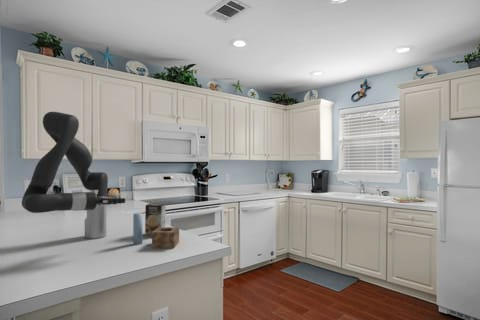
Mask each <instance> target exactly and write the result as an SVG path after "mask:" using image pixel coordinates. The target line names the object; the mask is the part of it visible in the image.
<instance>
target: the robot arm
mask: <svg viewBox="0 0 480 320" xmlns="http://www.w3.org/2000/svg"><path fill="white" fill-rule="evenodd" d="M42 126H43V129H44V130H45V132H46V134H47V135H49V137H50V138H51V139H52V140H53V141H54V142H55V145H54V146H53V147H52V148H51V149H50V150H49V151H48V152H47V153H45V155H43V156H42V157H41V158H40V159H39V161H38V162H37V164H36V165H35V168H34V171H33V173H32V177H31V180H30V182H29V184H28V186H27V188H26V190H25V192H24V194H23V196H22V199H21V206H22V207H23V209H24V210H26V211H27V212H29V213H34V214H39V213H42V214H43V213H48V212H55V211H58V212H60V211H62V212H63V211H77V212H78V211H86V218H85V219H84V238H85V239H91V240H92V239H100V238H104V237H106V236H107V206H111V205H117V204H125V203H126V198H125V197H121V198H120V197H119V198H118V197H112V196H108V187H109V186H108V183H109V177H108V174H107V173H106V172H103V171H102V172H100V171H96V172H95V171H92V172H91V171H90V170H89V169H90V166H91V165H92V163H93V157H92V154H91V152H90V151H89V149H88V147H86V145H85V144H84V143H82V141H81V140H78V139H77V138H76V135H77V133H78V130H79V127H80V122H79V119H78V117H77V116H75V115H73V114H69V113H64V112H58V111H49V112H46V113H45V114H44V115H43V117H42ZM64 156H65V157H64ZM63 158H66V159H67V160H68V162H69V164H71V166H72V167H73V169H74V170H75V172H76V174H77V175H78V177H79V180H80V181H81V183H82V186H83V188H85V189H86V190H89V191H86V192H85V191H83V192H82V191H81V192H80V191H79V192H77V191H76V192H59V193H55V194H53V193H50V194H49V193H48V191H49V188H51V187H52V185H53V184H54V181H55V178H56V175H57V173H58V170H59V167H60V164H61V162H62V161H63ZM94 191H97V193H96V192H94Z"/></svg>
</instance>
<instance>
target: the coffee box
mask: <svg viewBox="0 0 480 320" xmlns="http://www.w3.org/2000/svg"><path fill="white" fill-rule="evenodd" d="M144 211H145V213H144V214H145V216H144V218H145V220H144V221H145V222H144V225H145V226H144V236H149V237H150V236H151V237H152V232H153V231H154V230H156V229H157V228H158V227H166V204H165V203H147V204H146V205H145V210H144Z"/></svg>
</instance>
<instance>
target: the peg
mask: <svg viewBox="0 0 480 320" xmlns="http://www.w3.org/2000/svg"><path fill="white" fill-rule="evenodd" d="M132 219H133V221H132V222H133V223H132V224H133V225H132V226H133V227H132V228H133V229H132V230H133V231H132V232H133V235H132V237H133V239H132V244H133V245H136V246H137V245H141V244H143V213H141V212H138V213H137V212H136V213H133V217H132Z"/></svg>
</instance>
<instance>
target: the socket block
mask: <svg viewBox="0 0 480 320" xmlns="http://www.w3.org/2000/svg"><path fill="white" fill-rule="evenodd" d="M179 243H180V226H178V227H177V226H175V227H174V226H172V227H171V226H169V227H166V226H165V227H158V228H157V229H156V230H154V231H153V232H152V236H151V248H152V249H174V248H176V247H177V245H178V244H179Z"/></svg>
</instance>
